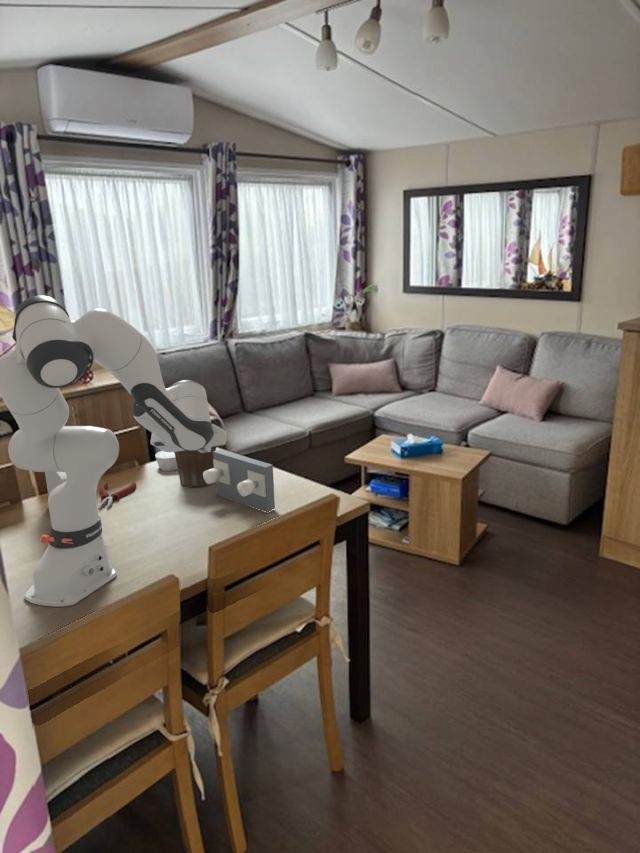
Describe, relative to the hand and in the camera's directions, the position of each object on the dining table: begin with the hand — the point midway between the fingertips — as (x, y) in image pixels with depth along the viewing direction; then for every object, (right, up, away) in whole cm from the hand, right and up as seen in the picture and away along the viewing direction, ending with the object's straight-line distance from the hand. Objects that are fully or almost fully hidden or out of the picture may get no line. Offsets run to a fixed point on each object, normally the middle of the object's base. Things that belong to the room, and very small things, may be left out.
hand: (206, 450), depth 180 cm
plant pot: (-10, -13, +41) cm, 44 cm away
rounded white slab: (-45, -22, +14) cm, 52 cm away
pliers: (-38, -17, +30) cm, 51 cm away
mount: (+8, -18, +22) cm, 29 cm away
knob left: (-1, -11, +22) cm, 24 cm away
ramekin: (-23, -8, +56) cm, 61 cm away
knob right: (+11, -14, +12) cm, 21 cm away
